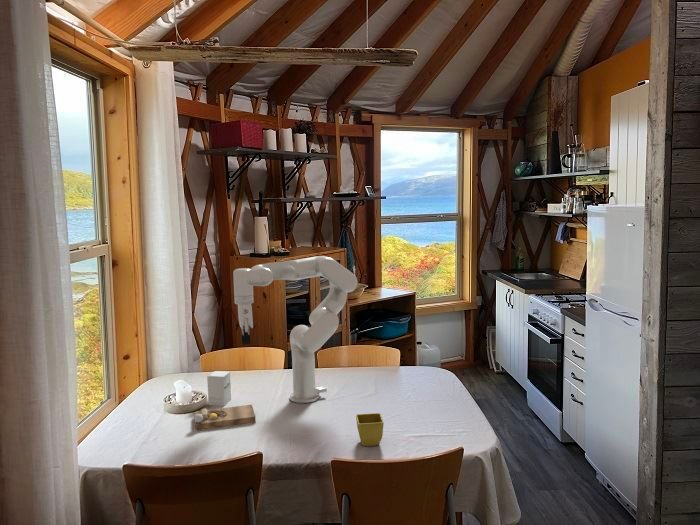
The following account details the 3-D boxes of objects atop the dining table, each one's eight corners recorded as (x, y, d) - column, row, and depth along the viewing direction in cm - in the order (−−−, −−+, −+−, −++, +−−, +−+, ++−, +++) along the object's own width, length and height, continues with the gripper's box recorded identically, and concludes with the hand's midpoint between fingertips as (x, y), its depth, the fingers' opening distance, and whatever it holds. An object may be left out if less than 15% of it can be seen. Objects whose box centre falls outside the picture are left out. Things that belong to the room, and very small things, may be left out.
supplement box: (224, 406, 225) (223, 376, 223) (208, 405, 226) (206, 376, 225) (231, 399, 232) (230, 371, 230) (215, 398, 233) (214, 370, 232)
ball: (218, 422, 209) (218, 414, 211) (216, 418, 207) (216, 410, 209) (210, 423, 209) (210, 416, 211) (207, 420, 207) (208, 412, 209)
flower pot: (356, 438, 192) (355, 413, 191) (380, 436, 192) (380, 412, 191) (358, 449, 183) (358, 424, 182) (384, 448, 184) (383, 422, 183)
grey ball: (203, 420, 204) (202, 412, 204) (203, 423, 201) (202, 415, 201) (194, 421, 203) (193, 413, 203) (194, 424, 200) (194, 416, 200)
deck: (252, 410, 219) (251, 399, 219) (255, 422, 207) (255, 411, 206) (195, 417, 213) (195, 406, 213) (195, 430, 201) (195, 419, 200)
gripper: (255, 301, 210) (257, 347, 212) (251, 295, 224) (253, 338, 226) (235, 303, 208) (238, 349, 210) (233, 296, 222) (235, 340, 224)
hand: (246, 343), depth 218 cm, fingers closed
